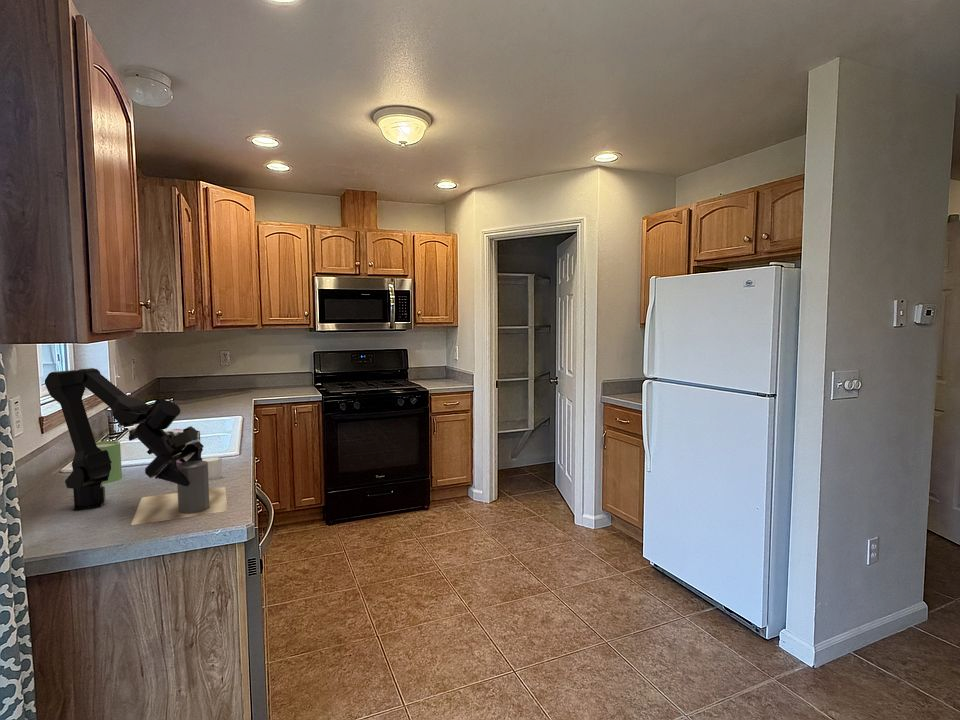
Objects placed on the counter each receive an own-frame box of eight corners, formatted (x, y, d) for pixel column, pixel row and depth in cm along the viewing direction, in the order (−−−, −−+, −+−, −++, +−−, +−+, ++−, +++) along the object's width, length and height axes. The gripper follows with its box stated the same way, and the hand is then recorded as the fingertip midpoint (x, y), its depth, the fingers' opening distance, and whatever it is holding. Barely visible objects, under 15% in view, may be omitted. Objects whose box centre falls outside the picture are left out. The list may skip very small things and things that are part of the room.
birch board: (130, 529, 133) (130, 525, 133) (142, 500, 154) (141, 497, 154) (227, 514, 143) (227, 510, 143) (225, 489, 164) (225, 486, 164)
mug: (109, 474, 182) (108, 439, 181) (128, 477, 178) (126, 442, 177) (68, 484, 171) (66, 447, 170) (87, 488, 166) (85, 450, 166)
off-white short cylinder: (213, 483, 171) (212, 462, 171) (194, 482, 172) (193, 461, 172) (227, 477, 178) (226, 457, 177) (209, 476, 179) (208, 456, 179)
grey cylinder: (178, 515, 140) (176, 469, 139) (179, 506, 146) (177, 462, 145) (209, 510, 143) (207, 465, 142) (209, 502, 150) (207, 459, 149)
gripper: (154, 426, 134) (199, 469, 134) (195, 413, 152) (234, 451, 153) (125, 456, 134) (170, 499, 135) (169, 440, 153) (208, 477, 154)
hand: (198, 480), depth 144 cm, fingers open, 9 cm apart
